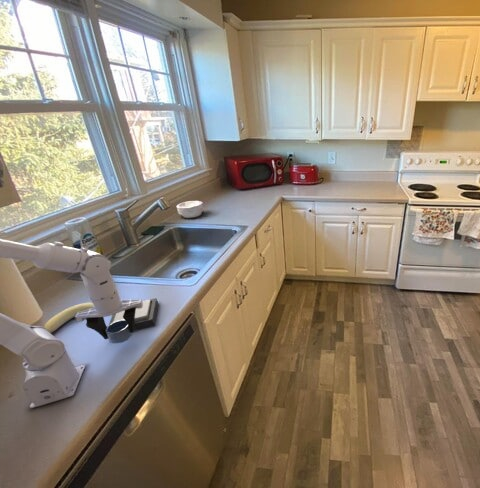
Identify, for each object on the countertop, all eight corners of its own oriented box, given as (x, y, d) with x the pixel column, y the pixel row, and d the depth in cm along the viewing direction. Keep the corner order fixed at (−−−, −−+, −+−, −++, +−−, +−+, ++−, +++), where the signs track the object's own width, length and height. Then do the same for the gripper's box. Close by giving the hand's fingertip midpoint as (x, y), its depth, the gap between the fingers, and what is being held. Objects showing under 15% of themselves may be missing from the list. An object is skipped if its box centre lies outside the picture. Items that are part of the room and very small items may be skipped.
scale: (154, 325, 87) (152, 319, 86) (109, 337, 83) (106, 330, 82) (158, 303, 97) (156, 297, 96) (117, 312, 93) (115, 306, 92)
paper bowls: (180, 213, 183) (178, 201, 179) (205, 210, 187) (203, 199, 183) (177, 221, 170) (174, 208, 166) (204, 218, 174) (201, 206, 170)
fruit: (40, 328, 87) (35, 320, 85) (97, 303, 98) (93, 295, 96) (47, 338, 83) (42, 329, 81) (105, 310, 94) (102, 302, 93)
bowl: (131, 340, 78) (127, 330, 76) (107, 347, 76) (102, 336, 74) (135, 328, 83) (131, 317, 81) (112, 333, 81) (108, 322, 79)
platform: (148, 318, 87) (146, 315, 87) (113, 327, 84) (112, 323, 83) (151, 302, 95) (150, 299, 94) (120, 309, 91) (118, 306, 91)
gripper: (138, 279, 79) (151, 317, 85) (75, 292, 74) (93, 331, 80) (134, 293, 73) (148, 333, 79) (64, 307, 68) (85, 348, 74)
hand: (120, 333), depth 79 cm, fingers closed on bowl, 5 cm apart
